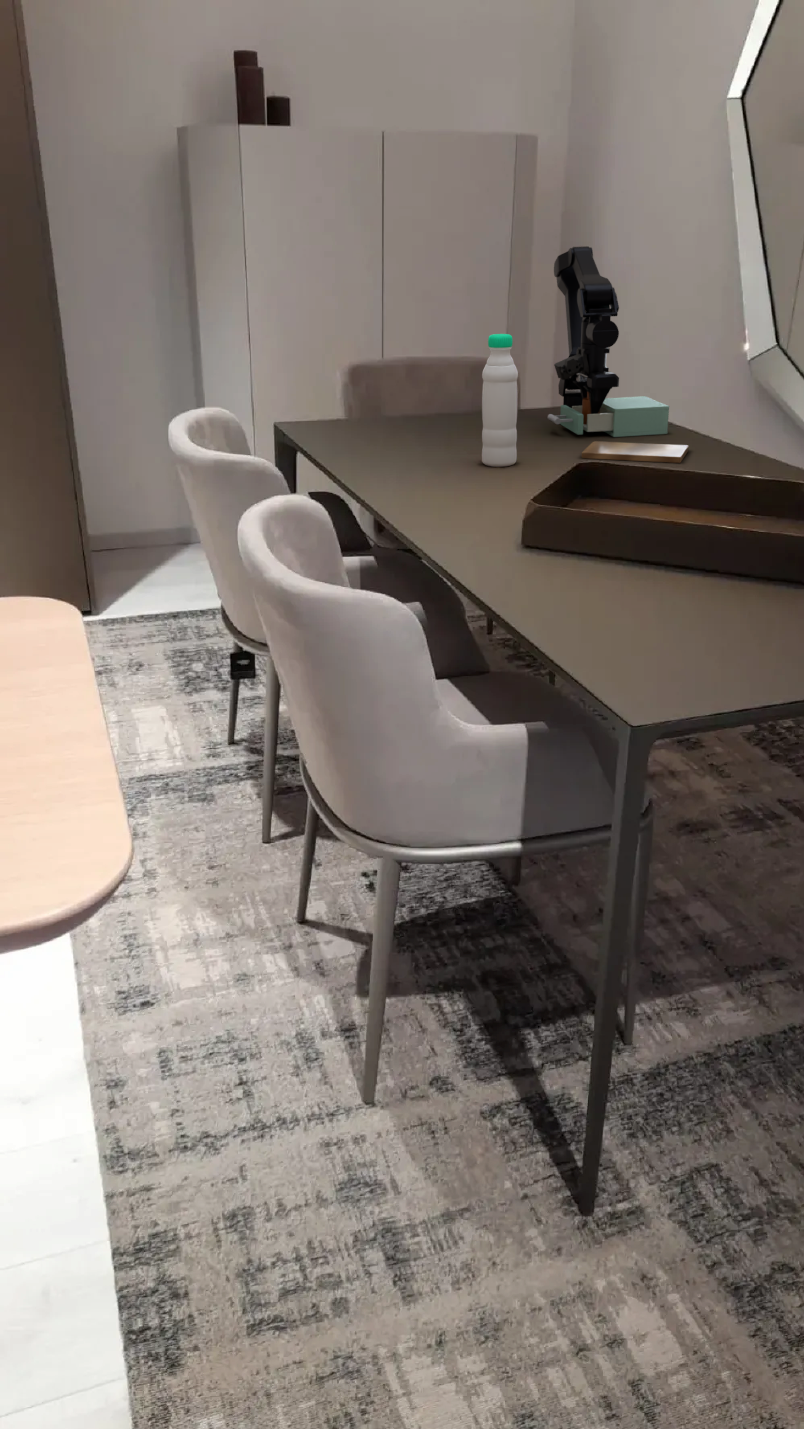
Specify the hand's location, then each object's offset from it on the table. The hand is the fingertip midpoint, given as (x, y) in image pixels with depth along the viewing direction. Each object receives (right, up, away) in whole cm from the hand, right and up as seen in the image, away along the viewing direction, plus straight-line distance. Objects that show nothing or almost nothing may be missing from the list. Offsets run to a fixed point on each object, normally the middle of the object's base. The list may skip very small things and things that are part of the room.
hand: (590, 415), depth 250 cm
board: (+5, -14, -22) cm, 27 cm away
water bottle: (-23, -17, -26) cm, 39 cm away
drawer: (-1, -3, +1) cm, 3 cm away
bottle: (0, -2, +1) cm, 2 cm away
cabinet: (+9, -3, +3) cm, 10 cm away
